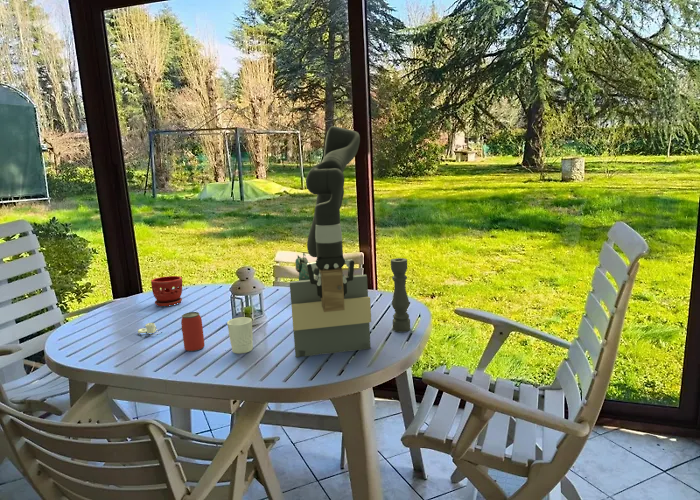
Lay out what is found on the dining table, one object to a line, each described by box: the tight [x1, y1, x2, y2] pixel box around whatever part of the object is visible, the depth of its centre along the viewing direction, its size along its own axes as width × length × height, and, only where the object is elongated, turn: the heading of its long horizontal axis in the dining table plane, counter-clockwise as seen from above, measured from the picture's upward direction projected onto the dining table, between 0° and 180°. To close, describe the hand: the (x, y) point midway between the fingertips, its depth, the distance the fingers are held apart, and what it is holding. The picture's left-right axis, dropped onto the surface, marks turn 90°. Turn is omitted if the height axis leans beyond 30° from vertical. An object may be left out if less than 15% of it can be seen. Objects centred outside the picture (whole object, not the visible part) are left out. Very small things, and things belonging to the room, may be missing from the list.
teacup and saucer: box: [137, 322, 157, 334], centre depth 183 cm, size 9×8×4 cm
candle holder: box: [390, 257, 411, 333], centre depth 170 cm, size 6×6×25 cm
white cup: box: [226, 316, 254, 355], centre depth 161 cm, size 8×8×10 cm
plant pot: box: [150, 275, 183, 307], centre depth 220 cm, size 13×13×12 cm
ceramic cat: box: [295, 252, 314, 281], centre depth 219 cm, size 20×6×20 cm, turn 23°
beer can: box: [180, 311, 205, 352], centre depth 164 cm, size 7×7×12 cm
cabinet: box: [319, 267, 345, 312], centre depth 142 cm, size 10×6×12 cm, turn 9°
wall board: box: [289, 274, 372, 358], centre depth 154 cm, size 12×24×24 cm, turn 99°
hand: (332, 296), depth 142 cm, fingers closed on cabinet, 6 cm apart
